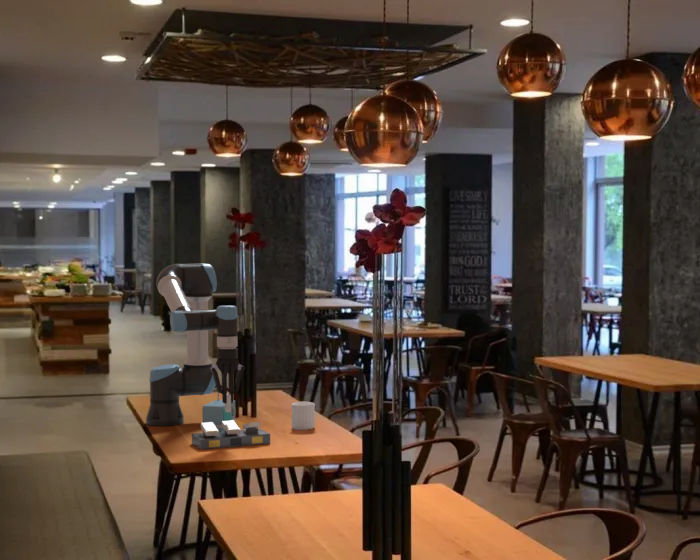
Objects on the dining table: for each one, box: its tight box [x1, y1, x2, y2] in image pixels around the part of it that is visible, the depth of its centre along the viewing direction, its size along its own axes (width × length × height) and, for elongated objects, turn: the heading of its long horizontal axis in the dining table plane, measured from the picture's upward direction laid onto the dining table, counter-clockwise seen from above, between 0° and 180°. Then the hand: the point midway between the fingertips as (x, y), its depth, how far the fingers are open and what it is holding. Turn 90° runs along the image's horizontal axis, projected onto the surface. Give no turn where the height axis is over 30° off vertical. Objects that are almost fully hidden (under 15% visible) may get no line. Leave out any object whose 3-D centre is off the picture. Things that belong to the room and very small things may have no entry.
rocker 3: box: [242, 421, 262, 430], centre depth 370 cm, size 8×4×2 cm, turn 24°
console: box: [191, 427, 271, 450], centre depth 367 cm, size 12×26×5 cm, turn 114°
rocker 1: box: [200, 422, 219, 436], centre depth 364 cm, size 8×4×2 cm, turn 24°
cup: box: [291, 401, 316, 431], centre depth 397 cm, size 10×10×10 cm
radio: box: [201, 392, 237, 432], centre depth 386 cm, size 16×9×20 cm, turn 168°
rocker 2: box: [222, 420, 241, 434], centre depth 367 cm, size 8×4×2 cm, turn 24°
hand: (228, 411), depth 370 cm, fingers closed
